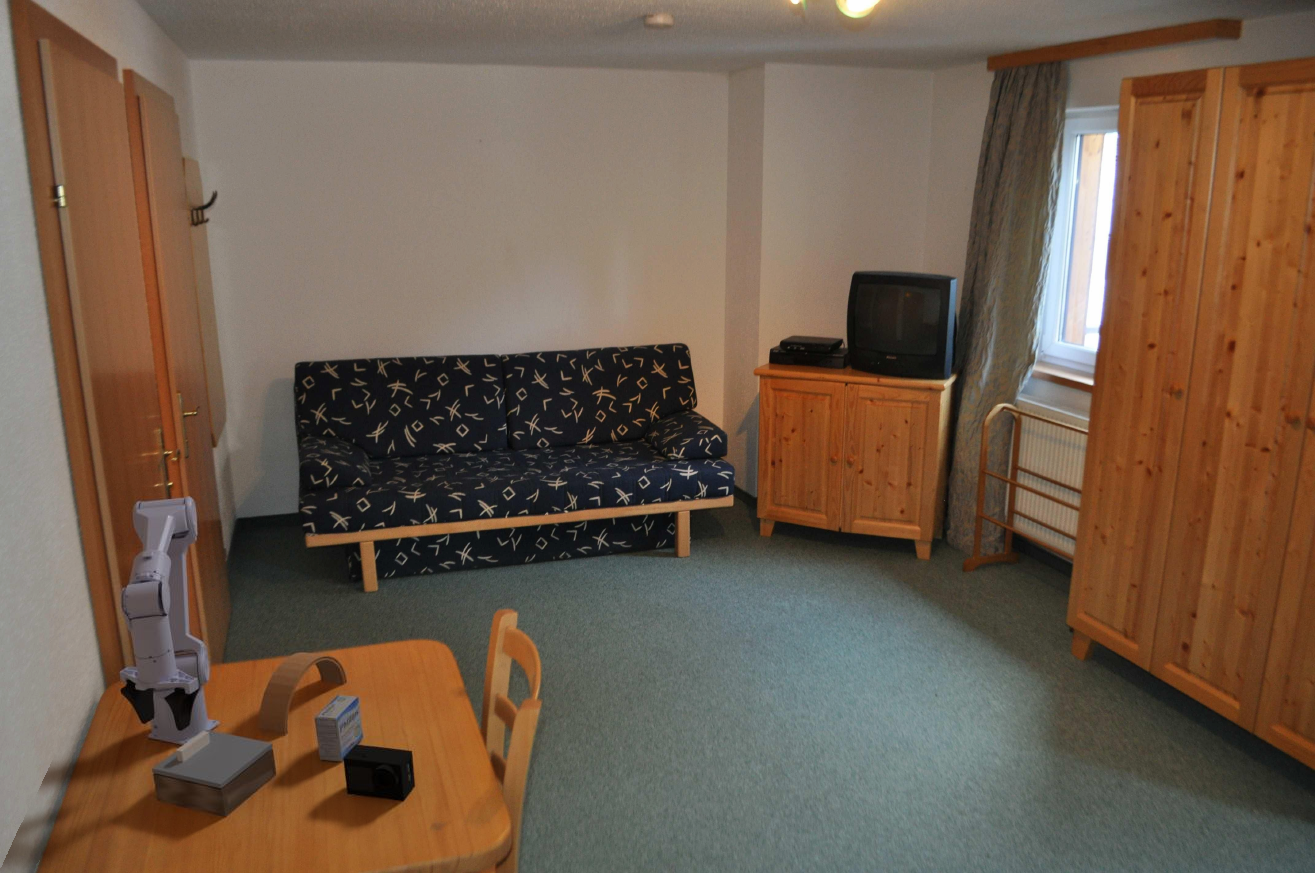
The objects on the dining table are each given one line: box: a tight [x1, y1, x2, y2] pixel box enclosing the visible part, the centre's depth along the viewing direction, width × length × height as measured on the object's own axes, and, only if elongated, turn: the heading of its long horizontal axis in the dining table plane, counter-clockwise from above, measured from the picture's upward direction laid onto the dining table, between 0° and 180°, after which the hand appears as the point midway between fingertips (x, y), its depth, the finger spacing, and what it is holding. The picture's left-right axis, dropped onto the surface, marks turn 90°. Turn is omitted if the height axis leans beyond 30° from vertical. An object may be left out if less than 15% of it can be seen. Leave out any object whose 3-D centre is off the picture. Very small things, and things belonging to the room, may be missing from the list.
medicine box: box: [314, 694, 364, 763], centre depth 173 cm, size 8×4×9 cm, turn 168°
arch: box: [258, 651, 348, 736], centre depth 188 cm, size 6×20×10 cm, turn 163°
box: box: [152, 748, 277, 818], centre depth 163 cm, size 14×12×5 cm
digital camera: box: [343, 744, 416, 802], centre depth 161 cm, size 10×5×7 cm, turn 78°
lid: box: [151, 730, 274, 788], centre depth 162 cm, size 14×12×3 cm
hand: (165, 724), depth 164 cm, fingers open, 7 cm apart
